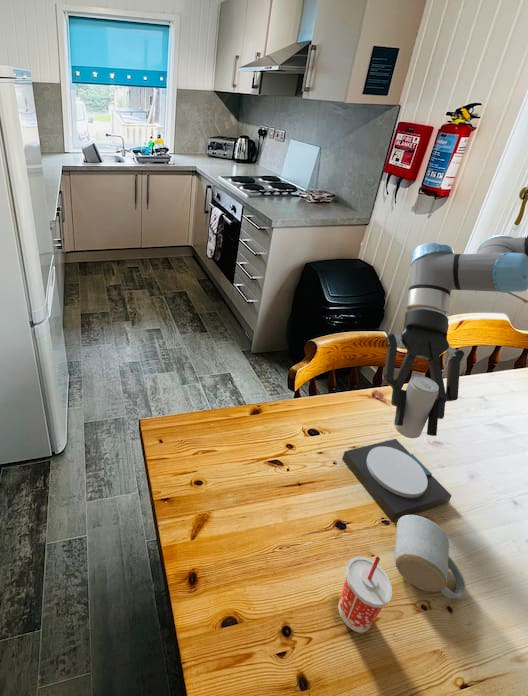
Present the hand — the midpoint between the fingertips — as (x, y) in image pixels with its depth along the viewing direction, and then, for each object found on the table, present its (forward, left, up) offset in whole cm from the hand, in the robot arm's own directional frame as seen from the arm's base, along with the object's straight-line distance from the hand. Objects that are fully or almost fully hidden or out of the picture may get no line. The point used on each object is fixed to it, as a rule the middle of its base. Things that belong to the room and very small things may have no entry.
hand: (414, 429), depth 74 cm
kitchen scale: (+1, -1, -16) cm, 16 cm away
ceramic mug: (-14, +7, -16) cm, 22 cm away
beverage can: (+3, -2, -4) cm, 5 cm away
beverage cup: (-16, +23, -16) cm, 32 cm away
